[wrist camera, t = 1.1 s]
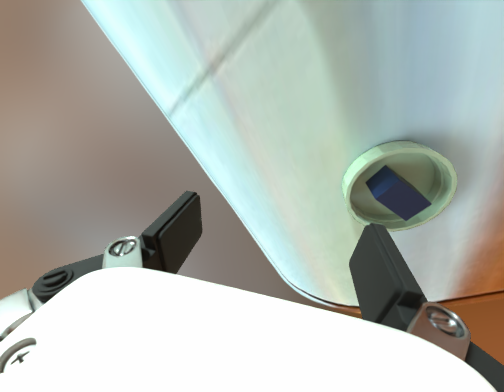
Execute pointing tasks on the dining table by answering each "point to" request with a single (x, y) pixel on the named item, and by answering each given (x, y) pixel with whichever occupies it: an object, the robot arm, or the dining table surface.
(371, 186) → the navy blue block
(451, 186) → the bowl
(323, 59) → the dining table surface
